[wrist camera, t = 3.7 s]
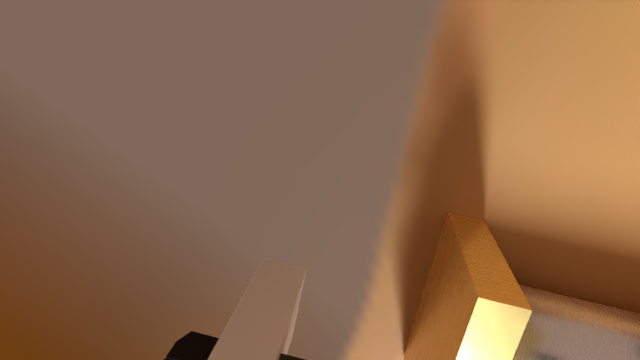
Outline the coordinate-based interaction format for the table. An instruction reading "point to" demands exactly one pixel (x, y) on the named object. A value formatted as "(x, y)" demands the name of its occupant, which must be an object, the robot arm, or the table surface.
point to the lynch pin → (507, 310)
